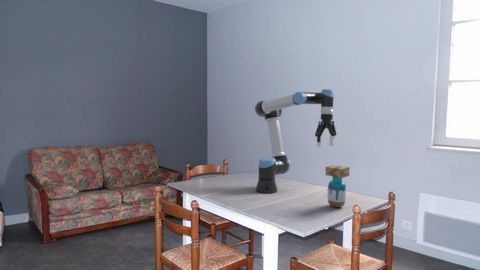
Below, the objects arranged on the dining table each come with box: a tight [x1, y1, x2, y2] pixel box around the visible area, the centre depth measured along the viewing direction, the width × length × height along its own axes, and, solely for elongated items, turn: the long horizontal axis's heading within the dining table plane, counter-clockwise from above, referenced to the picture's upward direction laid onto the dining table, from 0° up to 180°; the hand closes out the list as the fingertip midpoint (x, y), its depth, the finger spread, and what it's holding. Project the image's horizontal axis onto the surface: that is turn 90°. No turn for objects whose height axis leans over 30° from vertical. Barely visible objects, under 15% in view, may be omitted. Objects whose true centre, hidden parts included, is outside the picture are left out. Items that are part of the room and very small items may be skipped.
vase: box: [327, 176, 347, 208], centre depth 217 cm, size 11×11×19 cm
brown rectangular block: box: [325, 164, 350, 179], centre depth 216 cm, size 11×9×5 cm
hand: (325, 146), depth 233 cm, fingers open, 13 cm apart
